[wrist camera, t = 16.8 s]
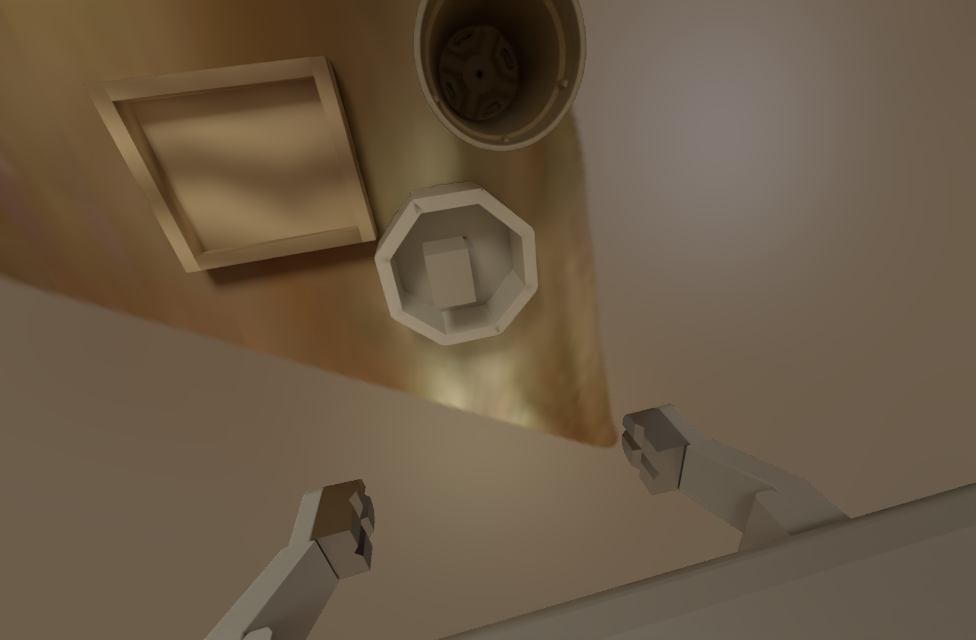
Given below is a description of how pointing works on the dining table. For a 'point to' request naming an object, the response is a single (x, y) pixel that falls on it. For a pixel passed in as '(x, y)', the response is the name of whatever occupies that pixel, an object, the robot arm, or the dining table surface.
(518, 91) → the flower pot
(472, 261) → the tall grey rectangular block
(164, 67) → the dining table surface
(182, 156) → the tray
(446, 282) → the block
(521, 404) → the dining table surface
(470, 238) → the bowl
